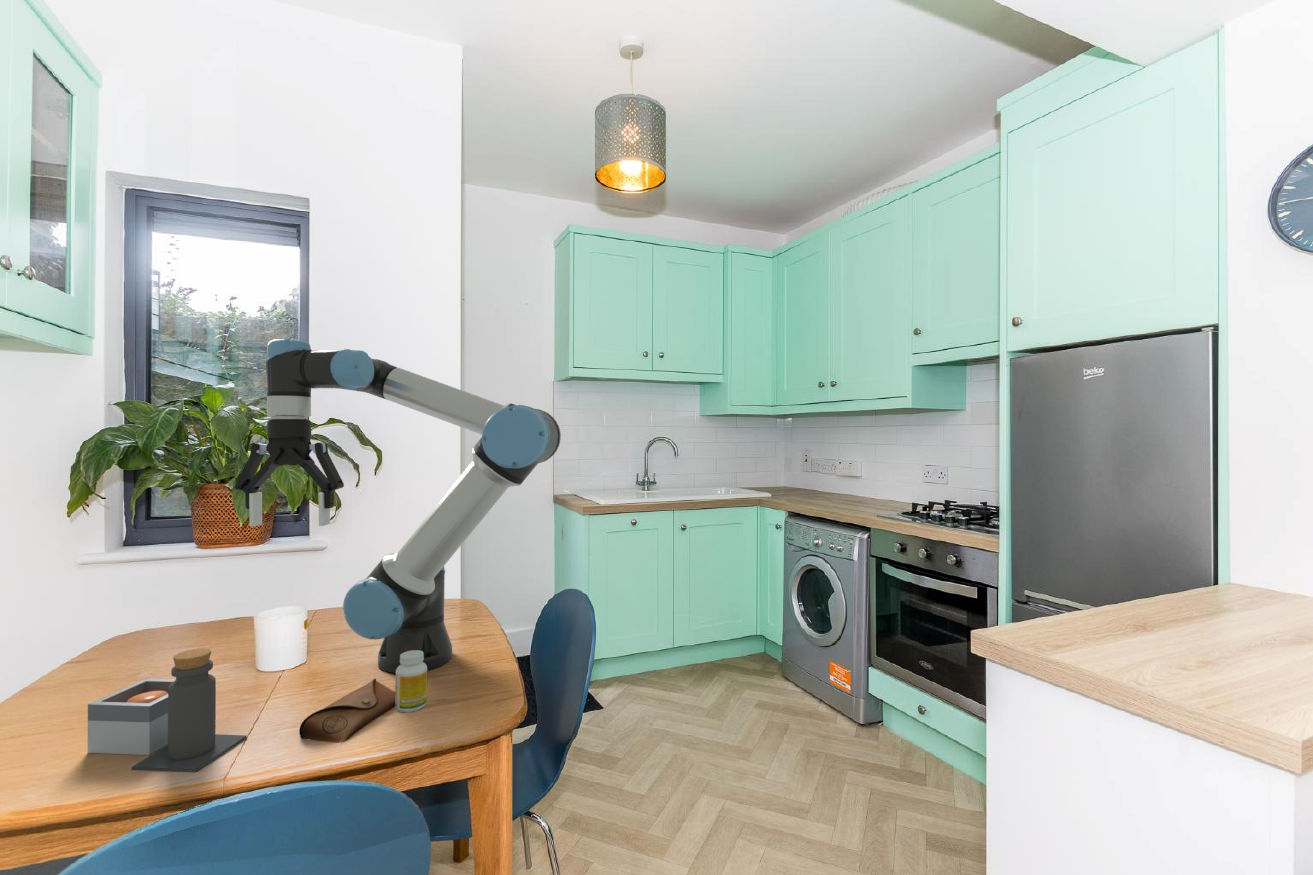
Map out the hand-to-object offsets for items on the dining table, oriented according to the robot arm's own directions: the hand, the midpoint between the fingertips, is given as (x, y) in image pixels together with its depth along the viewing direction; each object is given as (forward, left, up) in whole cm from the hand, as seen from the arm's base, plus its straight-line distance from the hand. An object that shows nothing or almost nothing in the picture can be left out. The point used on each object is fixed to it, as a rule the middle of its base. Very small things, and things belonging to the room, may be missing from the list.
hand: (290, 525), depth 120 cm
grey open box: (+9, +23, -31) cm, 39 cm away
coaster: (-2, +27, -31) cm, 41 cm away
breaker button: (+9, +23, -31) cm, 39 cm away
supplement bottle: (-29, +9, -32) cm, 44 cm away
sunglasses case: (-21, +13, -32) cm, 41 cm away
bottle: (-2, +27, -31) cm, 41 cm away
